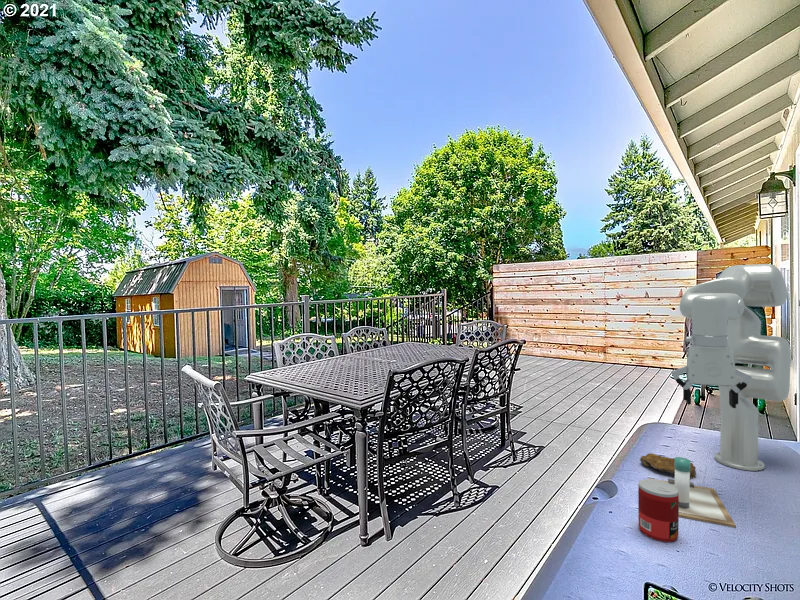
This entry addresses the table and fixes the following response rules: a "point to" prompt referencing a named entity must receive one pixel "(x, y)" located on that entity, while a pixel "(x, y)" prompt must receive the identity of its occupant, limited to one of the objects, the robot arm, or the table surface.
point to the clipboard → (704, 506)
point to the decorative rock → (664, 464)
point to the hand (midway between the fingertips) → (710, 404)
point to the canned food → (658, 510)
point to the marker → (682, 480)
